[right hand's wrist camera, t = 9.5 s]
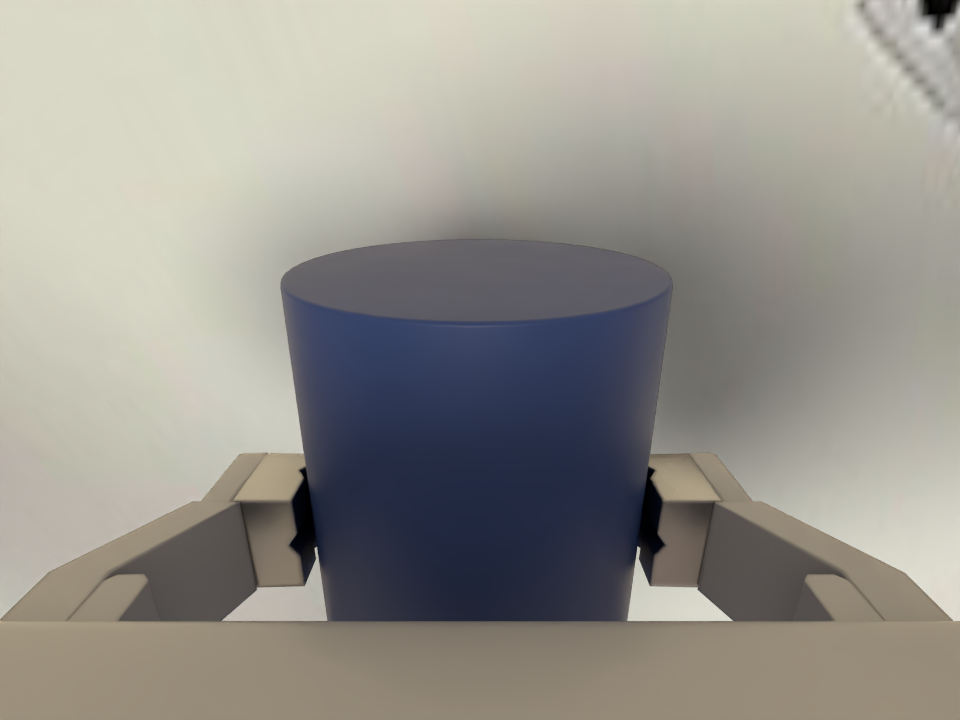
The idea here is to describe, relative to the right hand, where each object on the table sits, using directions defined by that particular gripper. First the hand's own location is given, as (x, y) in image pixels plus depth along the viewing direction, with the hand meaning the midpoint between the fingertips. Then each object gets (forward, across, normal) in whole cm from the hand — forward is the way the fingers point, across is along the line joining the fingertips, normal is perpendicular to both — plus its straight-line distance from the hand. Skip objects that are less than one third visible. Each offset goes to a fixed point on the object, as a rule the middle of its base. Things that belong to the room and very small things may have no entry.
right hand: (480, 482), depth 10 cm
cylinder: (+3, 0, -9) cm, 9 cm away
